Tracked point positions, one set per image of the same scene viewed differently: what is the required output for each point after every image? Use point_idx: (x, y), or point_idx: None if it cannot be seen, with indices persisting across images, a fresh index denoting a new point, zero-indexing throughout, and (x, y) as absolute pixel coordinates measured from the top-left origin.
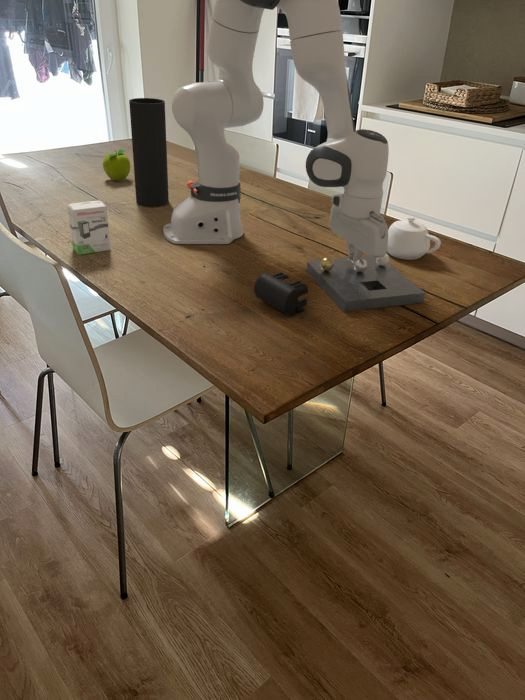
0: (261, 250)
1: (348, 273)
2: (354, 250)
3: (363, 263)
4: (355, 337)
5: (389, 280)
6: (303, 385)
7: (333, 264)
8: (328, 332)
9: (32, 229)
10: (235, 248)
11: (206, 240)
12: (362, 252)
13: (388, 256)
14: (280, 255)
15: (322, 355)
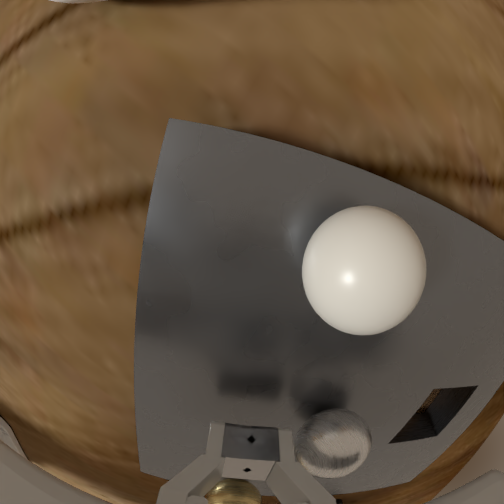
0: (22, 414)
1: None
2: (215, 473)
3: (362, 462)
4: (451, 457)
5: (469, 343)
6: (433, 495)
7: (254, 499)
8: (412, 482)
9: None
10: (23, 432)
11: (15, 446)
12: (321, 495)
13: (422, 253)
14: (42, 412)
15: (429, 486)
